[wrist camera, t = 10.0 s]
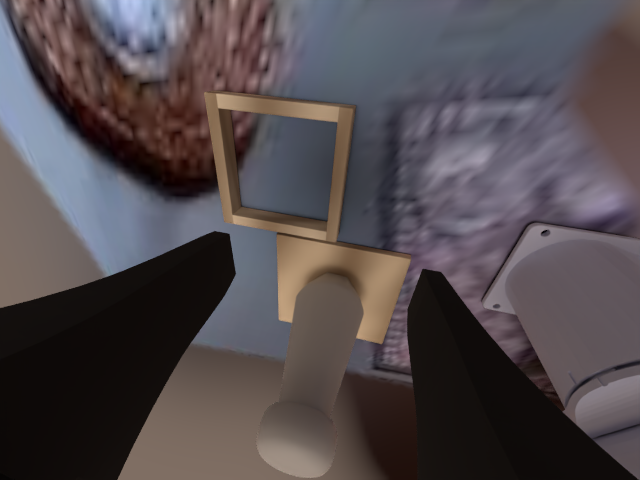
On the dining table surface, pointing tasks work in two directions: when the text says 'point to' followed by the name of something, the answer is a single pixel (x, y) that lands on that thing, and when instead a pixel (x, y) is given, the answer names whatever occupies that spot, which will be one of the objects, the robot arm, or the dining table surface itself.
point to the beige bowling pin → (312, 378)
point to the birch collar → (226, 165)
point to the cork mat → (346, 260)
